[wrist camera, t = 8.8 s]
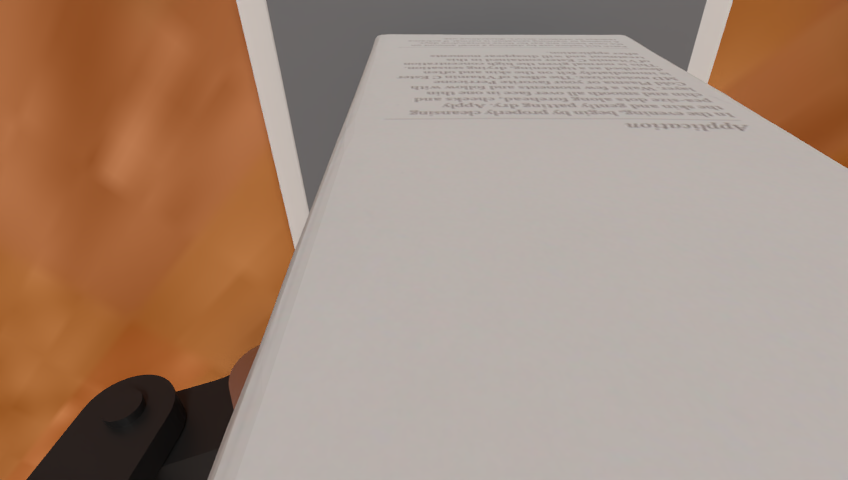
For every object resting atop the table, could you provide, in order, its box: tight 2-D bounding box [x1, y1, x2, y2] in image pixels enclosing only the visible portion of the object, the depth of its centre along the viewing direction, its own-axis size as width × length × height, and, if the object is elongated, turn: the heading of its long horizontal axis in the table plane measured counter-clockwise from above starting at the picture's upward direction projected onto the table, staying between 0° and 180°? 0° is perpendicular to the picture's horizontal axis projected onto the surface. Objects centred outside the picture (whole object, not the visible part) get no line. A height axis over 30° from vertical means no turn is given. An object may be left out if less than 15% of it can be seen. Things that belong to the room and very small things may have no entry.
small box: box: [207, 34, 848, 480], centre depth 9 cm, size 8×6×13 cm
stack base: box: [236, 0, 733, 249], centre depth 17 cm, size 14×14×4 cm
